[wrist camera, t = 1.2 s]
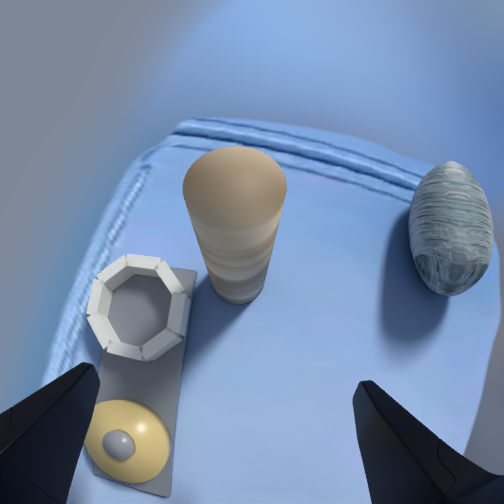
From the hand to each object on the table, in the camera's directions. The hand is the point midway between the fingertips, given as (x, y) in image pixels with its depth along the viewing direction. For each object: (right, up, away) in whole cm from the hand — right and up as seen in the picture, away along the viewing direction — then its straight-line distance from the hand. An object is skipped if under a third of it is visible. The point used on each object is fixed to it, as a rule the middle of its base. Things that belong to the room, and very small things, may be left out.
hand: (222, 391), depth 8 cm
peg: (0, +2, +16) cm, 16 cm away
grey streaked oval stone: (+20, +5, +18) cm, 28 cm away
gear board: (-8, -6, +12) cm, 16 cm away
